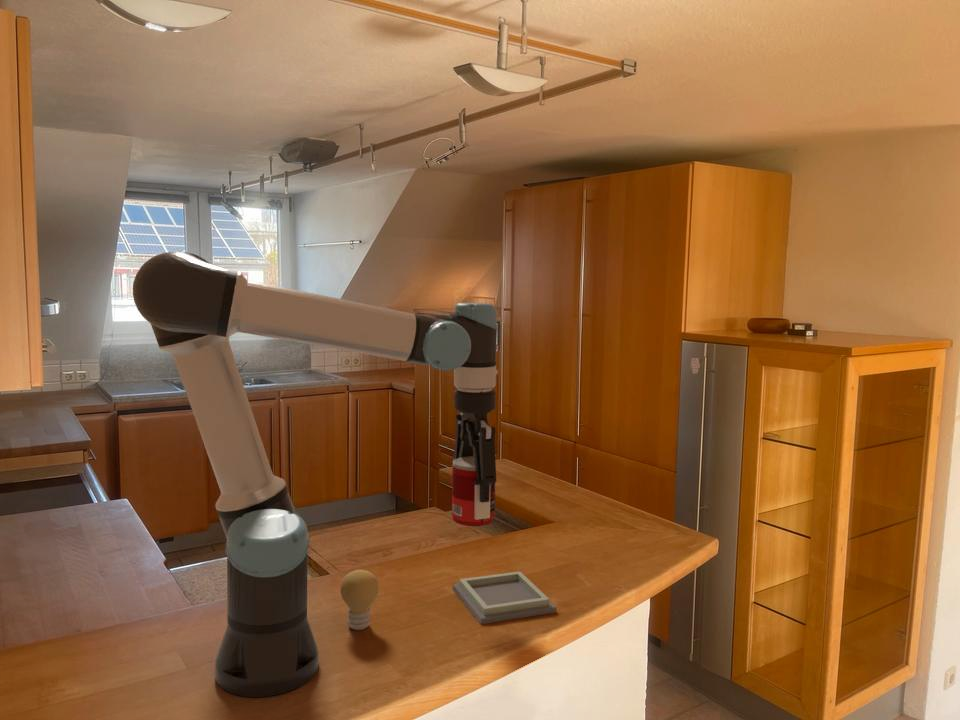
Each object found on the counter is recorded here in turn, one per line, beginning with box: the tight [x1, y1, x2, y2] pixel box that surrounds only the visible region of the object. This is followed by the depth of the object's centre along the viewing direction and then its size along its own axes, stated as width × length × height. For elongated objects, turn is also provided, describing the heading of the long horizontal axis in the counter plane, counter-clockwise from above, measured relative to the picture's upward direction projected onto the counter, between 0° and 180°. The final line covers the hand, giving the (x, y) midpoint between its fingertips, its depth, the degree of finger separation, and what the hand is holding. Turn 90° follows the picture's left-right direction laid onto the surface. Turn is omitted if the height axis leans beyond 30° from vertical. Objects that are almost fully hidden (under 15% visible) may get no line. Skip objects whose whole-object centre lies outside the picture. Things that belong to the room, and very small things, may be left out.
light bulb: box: [340, 569, 379, 631], centre depth 123 cm, size 6×6×10 cm
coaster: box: [452, 571, 557, 625], centre depth 136 cm, size 15×15×2 cm
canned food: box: [451, 455, 496, 527], centre depth 132 cm, size 8×8×11 cm
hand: (473, 510), depth 132 cm, fingers closed on canned food, 8 cm apart
